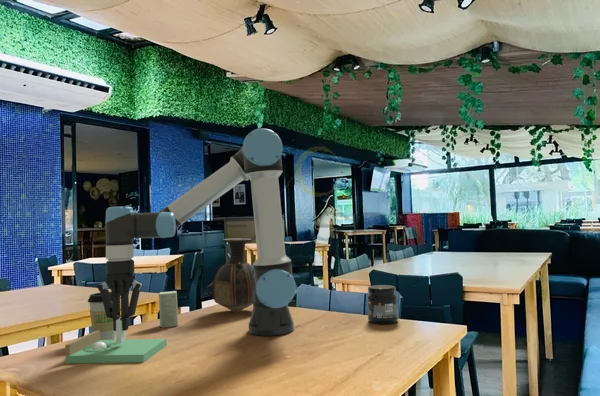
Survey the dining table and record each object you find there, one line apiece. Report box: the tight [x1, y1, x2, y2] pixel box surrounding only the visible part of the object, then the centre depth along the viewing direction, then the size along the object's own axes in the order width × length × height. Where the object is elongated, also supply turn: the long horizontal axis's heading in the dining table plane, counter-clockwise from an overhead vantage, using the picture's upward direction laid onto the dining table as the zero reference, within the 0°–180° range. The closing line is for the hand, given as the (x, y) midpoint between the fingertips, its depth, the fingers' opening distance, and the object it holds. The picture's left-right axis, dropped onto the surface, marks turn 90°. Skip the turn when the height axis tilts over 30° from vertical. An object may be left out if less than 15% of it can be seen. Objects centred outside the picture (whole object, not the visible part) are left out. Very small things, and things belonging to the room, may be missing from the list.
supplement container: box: [366, 284, 399, 325], centre depth 157 cm, size 10×10×12 cm
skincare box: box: [158, 290, 179, 328], centre depth 163 cm, size 6×4×12 cm
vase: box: [206, 237, 253, 314], centre depth 183 cm, size 23×19×30 cm
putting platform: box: [64, 330, 167, 364], centre depth 129 cm, size 22×16×5 cm
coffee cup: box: [87, 291, 121, 340], centre depth 145 cm, size 10×10×15 cm
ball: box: [93, 342, 107, 350], centre depth 129 cm, size 4×4×4 cm
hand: (121, 341), depth 129 cm, fingers closed
